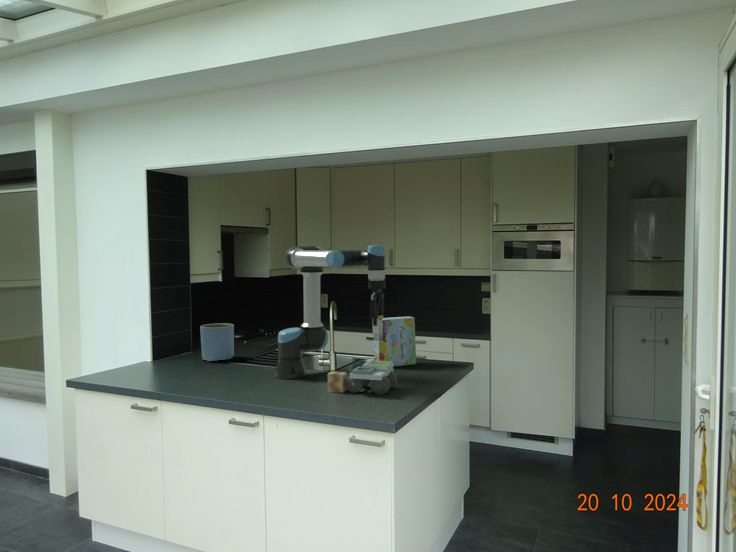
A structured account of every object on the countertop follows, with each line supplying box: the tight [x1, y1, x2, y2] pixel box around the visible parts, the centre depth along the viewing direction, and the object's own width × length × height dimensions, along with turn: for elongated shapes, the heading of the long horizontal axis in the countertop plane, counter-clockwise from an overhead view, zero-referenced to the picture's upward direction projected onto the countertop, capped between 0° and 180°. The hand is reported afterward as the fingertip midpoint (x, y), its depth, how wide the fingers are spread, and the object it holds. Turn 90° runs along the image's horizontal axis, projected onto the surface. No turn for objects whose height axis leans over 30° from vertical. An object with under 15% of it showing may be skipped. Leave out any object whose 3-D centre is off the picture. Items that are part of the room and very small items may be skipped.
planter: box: [199, 322, 235, 362], centre depth 319 cm, size 19×19×20 cm
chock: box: [327, 371, 348, 394], centre depth 242 cm, size 7×5×8 cm
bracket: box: [334, 360, 367, 377], centre depth 268 cm, size 18×7×8 cm, turn 61°
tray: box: [363, 360, 394, 372], centre depth 244 cm, size 11×10×2 cm
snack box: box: [373, 315, 417, 368], centre depth 294 cm, size 22×9×26 cm, turn 111°
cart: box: [345, 366, 398, 396], centre depth 241 cm, size 20×18×10 cm
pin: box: [372, 315, 384, 341], centre depth 243 cm, size 5×5×11 cm
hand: (377, 331), depth 243 cm, fingers closed on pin, 4 cm apart
